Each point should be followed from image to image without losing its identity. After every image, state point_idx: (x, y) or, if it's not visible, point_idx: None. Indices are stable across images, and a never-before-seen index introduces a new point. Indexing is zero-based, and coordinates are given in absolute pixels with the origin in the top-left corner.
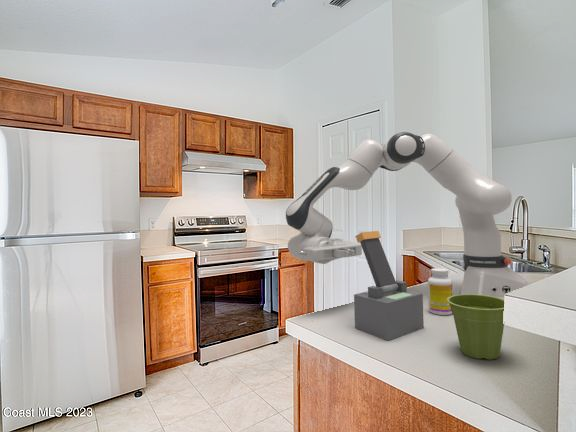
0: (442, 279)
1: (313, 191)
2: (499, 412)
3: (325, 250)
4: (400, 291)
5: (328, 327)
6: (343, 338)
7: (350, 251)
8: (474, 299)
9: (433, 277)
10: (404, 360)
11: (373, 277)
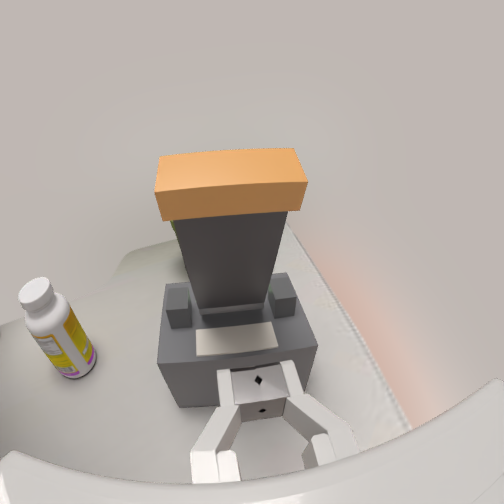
0: (57, 295)
1: None
2: (288, 227)
3: (442, 413)
4: (191, 308)
5: (358, 416)
6: (350, 358)
7: (257, 365)
8: (173, 223)
9: (51, 308)
10: (301, 282)
11: (267, 288)
